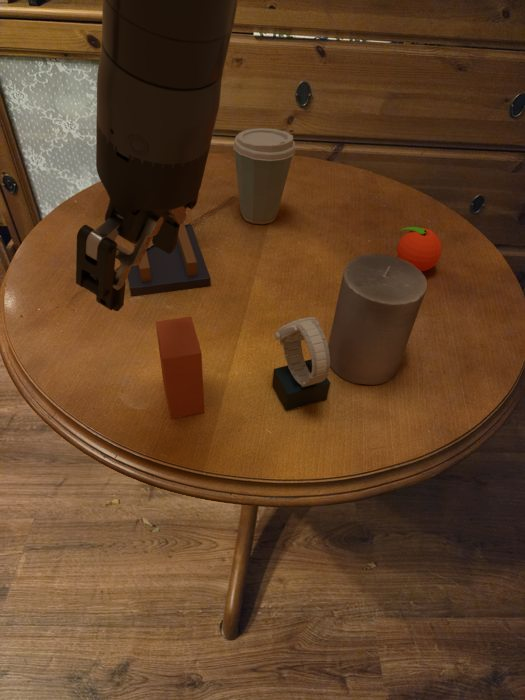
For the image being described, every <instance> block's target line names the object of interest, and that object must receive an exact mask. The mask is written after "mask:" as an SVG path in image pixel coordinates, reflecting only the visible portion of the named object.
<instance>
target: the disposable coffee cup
mask: <svg viewBox="0 0 525 700" xmlns="http://www.w3.org/2000/svg"><path fill="white" fill-rule="evenodd" d="M234 137H235V138H234V140H233V145H232V148H233V151H234V161H235V169H236V180H237V188H238V189H237V191H238V197H239V198H238V199H239V207H240V214H241V216H242V219H244V220H245V221H246V222H248V223H251V224H254V225H265V224H266V225H267V224H270V223H272V222H274V221H275V220H276V218H277V217H278V214H279V209H280V205H281V201H282V198H283V194H284V190H285V186H286V182H287V178H288V175H289V171H290V167H291V163H292V159H293V157H294V155H296V142H295V140H294V135H292V134H291V133H289V132H287V131H285V130H281V129H276V128H266V127H265V128H264V127H257V128H247V129H245V130H243V131H240V132H238V133H237V135H235V136H234Z"/></svg>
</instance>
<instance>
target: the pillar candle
mask: <svg viewBox="0 0 525 700" xmlns="http://www.w3.org/2000/svg"><path fill="white" fill-rule="evenodd" d="M427 288H428V281H427V278H426V276H425V275H424V273H423V271H420V270H419V269H418V268H416V267H415V266H414V265H412V264H411V263H409V262H408V261H405V260H403V259H400V258H398V256H394V255H389V254H381V253H367V254H362V255H358V256H356V257H354V258H352V259H350V261H348V263H346V265H345V267H344V270H343V273H342V279H341V283H340V287H339V291H338V297H337V302H336V307H335V312H334V314H333V315H334V316H333V321H332V325H331V330H330V335H329V339H328V348H329V356H330V368H331V370H332V371H333V372H334V373H335V374H336V375H337V376H338V377H340V378H341V379H344V381H347V382H349V383H351V384H352V383H353V384H359V385H369V386H370V385H372V386H377V385H382V384H385V383H387V382H388V381H390V380H392V379H393V377H395V375H396V374H397V372H398V370H399V367H400V365H401V363H402V360H403V357H404V354H405V352H406V348H407V347H408V343H409V341H410V337H411V334H412V331H413V329H414V325H415V323H416V320H417V317H418V315H419V311H420V309H421V306H422V304H423V301H424V299H425V295H426V292H427Z"/></svg>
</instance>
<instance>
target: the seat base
mask: <svg viewBox="0 0 525 700" xmlns="http://www.w3.org/2000/svg"><path fill="white" fill-rule="evenodd" d="M195 233H196V232H195V230H194V228H193V225H192V224H191V223H190V224H185V221H184V222H183V223H182V224H181V225H180V228H179V233H178V238H177V242H176V247H175V249H174V250H173V252H172V253H170V254H168V253H166V252H164V251H163V250H161V249H159V248H158V247H156V246H155V245H154V244H152V245H151V246H148V248H147V250H146V252H145V254H144V256H143V258H142V261H141V263H140V264H138V265H134V266H132V267H131V270H130V272H129V274H128V276H127V279H128V286H129V291H130V296H131V297H135V296H143V295H151V294H158V293H165V292H166V293H167V292H174V291H180V290H181V291H182V290H189V289H196V288H197V289H198V288H205V287H211V283H212V282H211V281H212V280H211V279H212V277H211V276H210V273H209V269H208V267H207V264H206V262H205V259H204V256H203V253H202V250H201V248H200V244H199V242H198V239H197V236H196V234H195ZM133 245H134V247H135V246H136V244H133Z"/></svg>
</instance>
